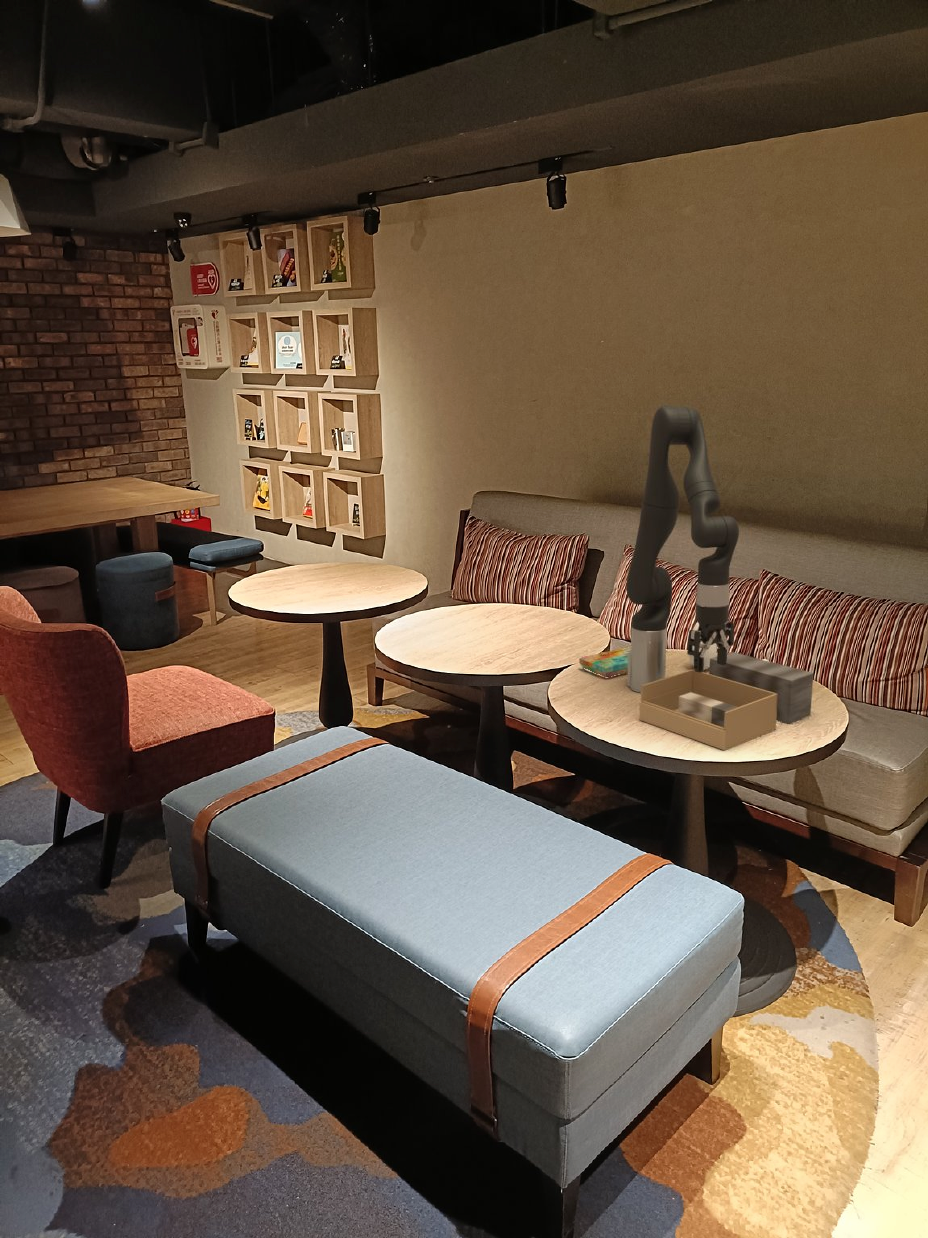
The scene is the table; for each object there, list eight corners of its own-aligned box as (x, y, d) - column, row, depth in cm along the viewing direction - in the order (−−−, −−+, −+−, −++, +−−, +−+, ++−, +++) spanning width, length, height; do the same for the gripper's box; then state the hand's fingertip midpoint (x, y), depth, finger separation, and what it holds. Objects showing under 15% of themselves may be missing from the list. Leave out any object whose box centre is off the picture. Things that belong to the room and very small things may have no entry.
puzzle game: (579, 655, 266) (631, 643, 276) (579, 671, 267) (631, 658, 277) (606, 665, 256) (659, 652, 267) (605, 681, 258) (658, 668, 268)
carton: (639, 720, 227) (640, 685, 225) (691, 702, 239) (692, 669, 236) (723, 750, 208) (725, 713, 206) (775, 729, 219) (778, 693, 217)
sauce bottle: (683, 671, 264) (685, 609, 259) (693, 663, 270) (695, 604, 266) (709, 675, 260) (712, 613, 255) (719, 667, 266) (722, 607, 261)
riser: (708, 698, 241) (709, 658, 238) (729, 691, 246) (731, 651, 243) (788, 724, 222) (791, 680, 220) (810, 715, 228) (813, 673, 225)
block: (678, 719, 227) (678, 696, 226) (689, 715, 230) (690, 692, 229) (724, 735, 217) (725, 711, 215) (736, 730, 219) (738, 707, 218)
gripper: (718, 594, 223) (716, 658, 227) (679, 604, 214) (678, 670, 218) (744, 599, 217) (741, 665, 221) (706, 609, 209) (703, 678, 213)
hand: (710, 668), depth 220 cm, fingers open, 8 cm apart
